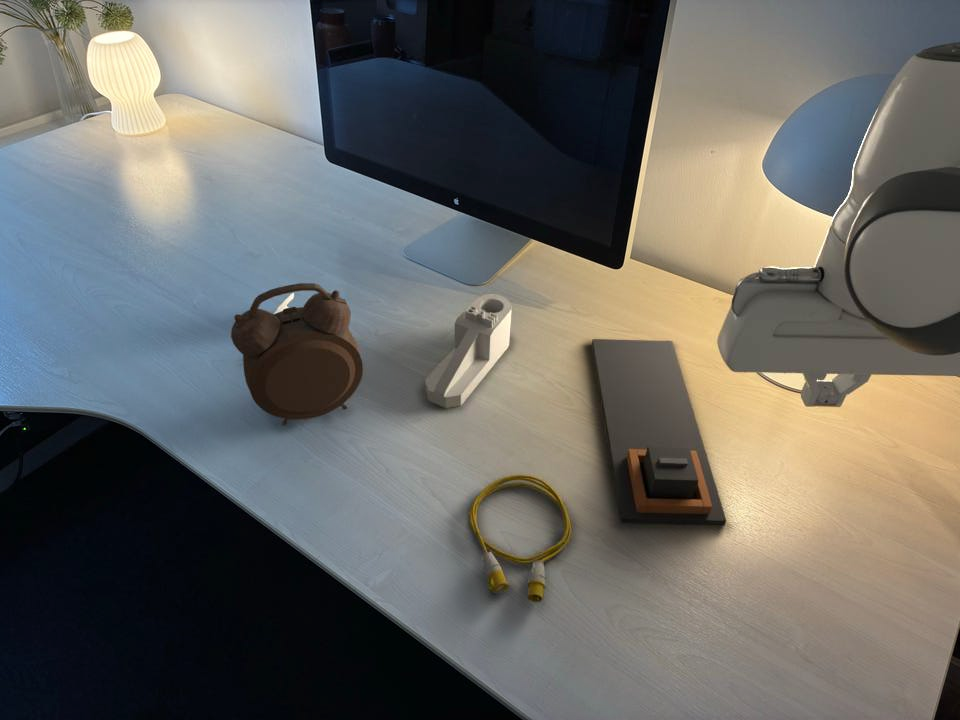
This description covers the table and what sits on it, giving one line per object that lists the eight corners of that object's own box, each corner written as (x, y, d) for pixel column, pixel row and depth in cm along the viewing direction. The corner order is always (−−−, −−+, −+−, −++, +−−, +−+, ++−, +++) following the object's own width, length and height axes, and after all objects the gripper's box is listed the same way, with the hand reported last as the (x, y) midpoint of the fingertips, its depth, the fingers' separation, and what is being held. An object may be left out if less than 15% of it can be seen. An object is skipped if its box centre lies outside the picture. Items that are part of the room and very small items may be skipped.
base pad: (724, 525, 79) (730, 513, 77) (620, 523, 79) (624, 510, 77) (671, 346, 103) (674, 333, 101) (591, 343, 103) (593, 331, 101)
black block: (682, 468, 84) (690, 444, 81) (690, 501, 80) (699, 478, 77) (641, 467, 84) (648, 443, 81) (648, 500, 80) (655, 477, 77)
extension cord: (433, 566, 74) (433, 556, 73) (499, 467, 85) (499, 456, 83) (535, 617, 70) (536, 607, 69) (590, 506, 80) (593, 496, 79)
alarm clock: (356, 376, 96) (340, 257, 83) (371, 411, 91) (355, 289, 78) (251, 403, 92) (216, 281, 79) (260, 441, 87) (224, 318, 74)
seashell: (285, 352, 105) (269, 344, 97) (260, 332, 106) (241, 322, 98) (318, 312, 106) (305, 301, 98) (293, 292, 107) (277, 279, 99)
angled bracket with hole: (419, 397, 93) (417, 353, 88) (482, 325, 105) (484, 283, 100) (455, 412, 91) (455, 368, 86) (515, 337, 103) (518, 295, 98)
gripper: (754, 291, 49) (710, 425, 58) (1040, 296, 49) (951, 430, 58) (731, 245, 54) (693, 376, 63) (991, 249, 53) (916, 380, 62)
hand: (819, 402), depth 60 cm, fingers closed
